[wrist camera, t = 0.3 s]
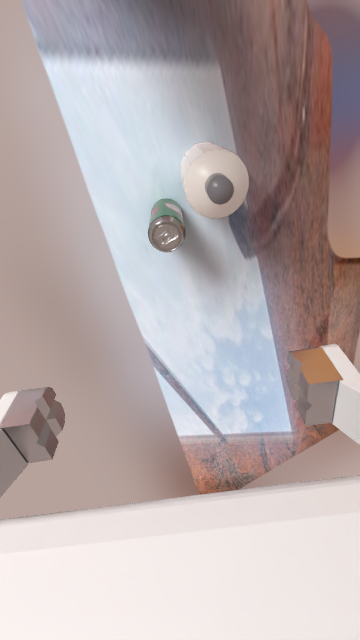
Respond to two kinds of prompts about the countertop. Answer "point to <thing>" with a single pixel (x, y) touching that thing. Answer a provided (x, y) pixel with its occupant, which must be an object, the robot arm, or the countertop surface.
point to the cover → (213, 180)
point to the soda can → (166, 226)
